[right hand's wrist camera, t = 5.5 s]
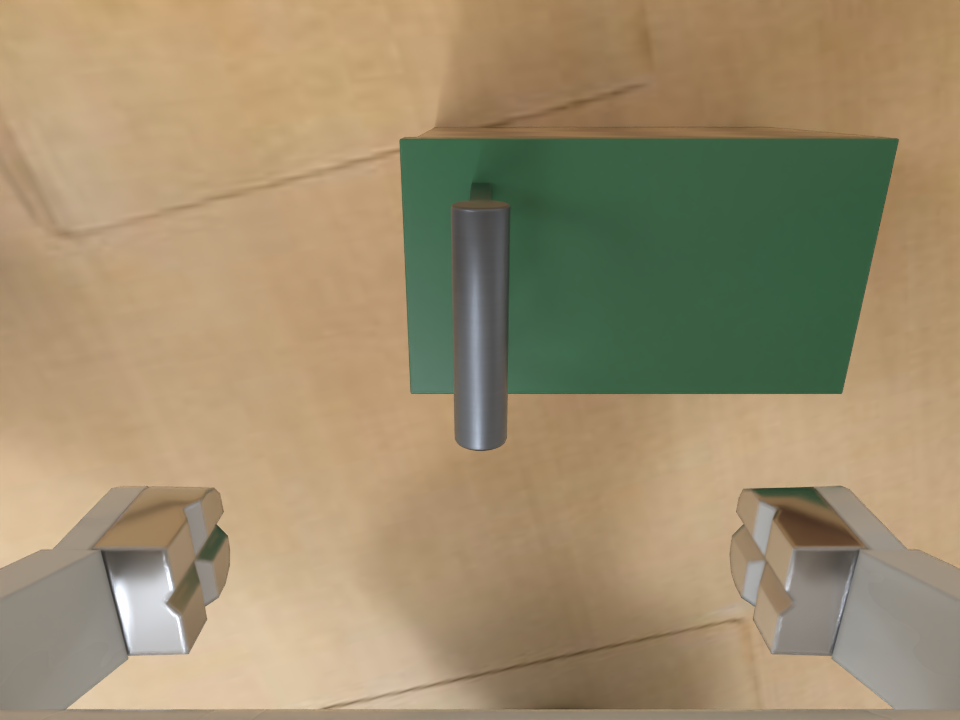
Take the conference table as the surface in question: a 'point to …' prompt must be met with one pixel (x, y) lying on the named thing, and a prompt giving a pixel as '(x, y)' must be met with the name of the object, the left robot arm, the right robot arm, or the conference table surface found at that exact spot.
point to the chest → (627, 132)
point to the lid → (634, 266)
